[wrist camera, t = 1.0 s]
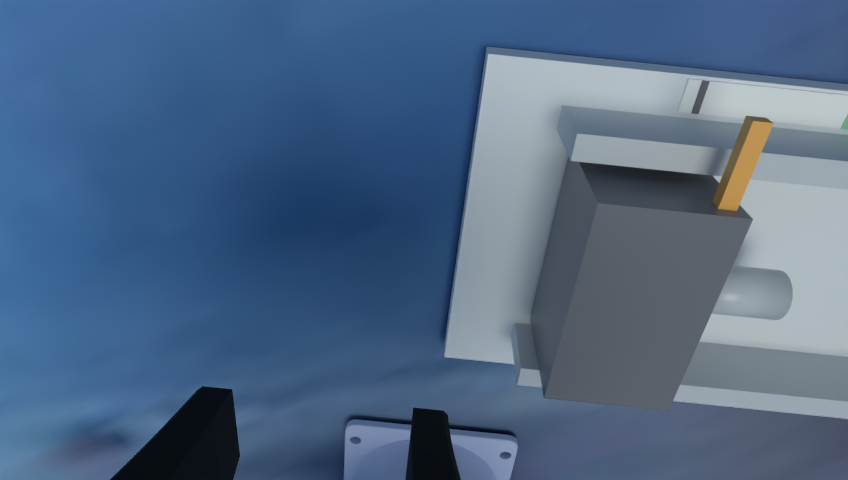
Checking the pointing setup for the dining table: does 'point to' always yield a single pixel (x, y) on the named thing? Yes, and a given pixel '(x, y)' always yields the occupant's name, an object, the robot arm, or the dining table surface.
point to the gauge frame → (670, 151)
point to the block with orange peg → (645, 276)
